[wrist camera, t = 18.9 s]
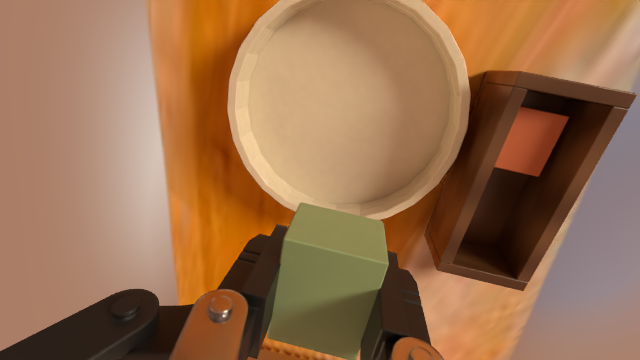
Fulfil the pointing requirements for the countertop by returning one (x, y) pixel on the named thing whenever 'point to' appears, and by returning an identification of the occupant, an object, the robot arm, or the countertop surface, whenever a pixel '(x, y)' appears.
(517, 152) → the orange rectangular block
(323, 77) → the bowl
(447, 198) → the holder
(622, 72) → the countertop surface
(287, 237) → the green block
